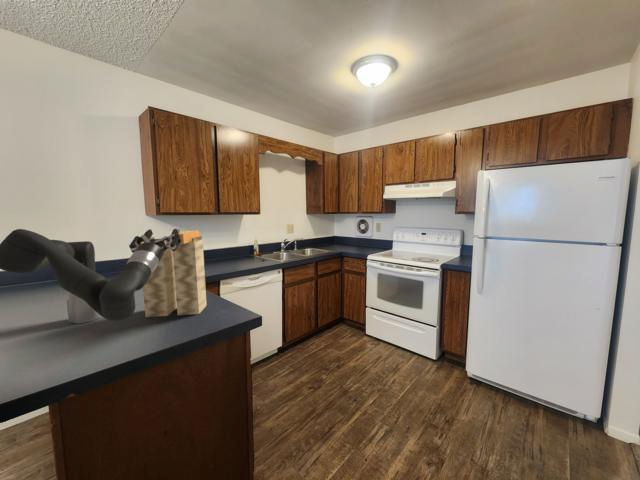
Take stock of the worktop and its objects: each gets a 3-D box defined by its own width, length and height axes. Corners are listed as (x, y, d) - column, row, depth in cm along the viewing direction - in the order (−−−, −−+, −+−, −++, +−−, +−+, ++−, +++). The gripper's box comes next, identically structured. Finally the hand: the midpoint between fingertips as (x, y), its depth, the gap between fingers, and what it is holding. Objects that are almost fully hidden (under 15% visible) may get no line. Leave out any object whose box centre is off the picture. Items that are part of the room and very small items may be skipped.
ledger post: (177, 315, 115) (171, 239, 111) (186, 306, 126) (182, 236, 122) (199, 314, 116) (194, 238, 112) (206, 305, 127) (202, 236, 123)
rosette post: (145, 317, 113) (138, 239, 110) (157, 307, 124) (152, 237, 121) (167, 315, 114) (161, 239, 111) (178, 306, 125) (172, 236, 122)
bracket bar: (173, 244, 106) (172, 234, 105) (190, 239, 125) (190, 230, 125) (183, 243, 106) (183, 233, 106) (199, 238, 126) (199, 230, 125)
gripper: (124, 270, 83) (146, 240, 96) (172, 268, 85) (187, 239, 98) (114, 251, 78) (138, 222, 92) (165, 250, 80) (182, 221, 93)
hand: (163, 231), depth 95 cm, fingers open, 8 cm apart
